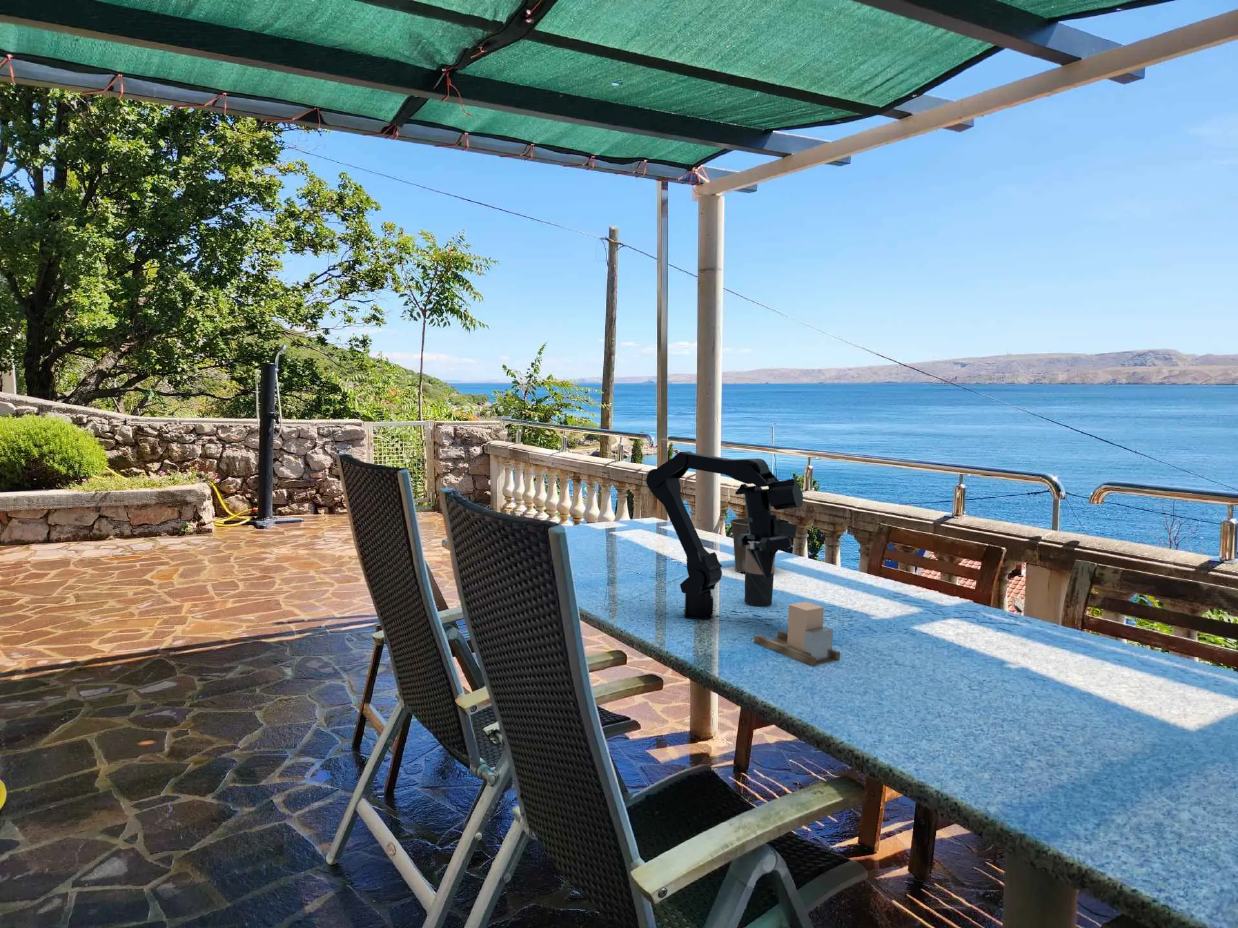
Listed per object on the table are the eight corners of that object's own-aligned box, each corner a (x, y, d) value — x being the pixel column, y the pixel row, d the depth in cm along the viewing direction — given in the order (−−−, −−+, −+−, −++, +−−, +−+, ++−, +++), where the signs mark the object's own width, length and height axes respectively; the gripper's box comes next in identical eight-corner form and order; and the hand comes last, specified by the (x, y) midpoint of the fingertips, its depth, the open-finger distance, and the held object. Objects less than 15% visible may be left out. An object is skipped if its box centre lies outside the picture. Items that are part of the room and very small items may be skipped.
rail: (753, 645, 166) (754, 635, 165) (780, 640, 170) (780, 630, 170) (811, 669, 151) (812, 658, 151) (839, 663, 155) (839, 651, 155)
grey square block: (803, 664, 154) (805, 630, 154) (824, 659, 158) (825, 626, 157) (810, 667, 153) (812, 633, 152) (831, 662, 156) (833, 629, 155)
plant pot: (719, 566, 247) (721, 517, 246) (764, 564, 252) (765, 516, 250) (742, 577, 231) (744, 525, 230) (789, 575, 236) (791, 524, 235)
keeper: (786, 651, 159) (788, 604, 158) (803, 647, 162) (805, 601, 161) (804, 658, 155) (806, 610, 154) (821, 654, 158) (823, 607, 157)
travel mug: (764, 608, 197) (767, 532, 195) (738, 603, 201) (741, 529, 200) (777, 602, 203) (780, 529, 201) (751, 597, 207) (754, 525, 206)
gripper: (808, 507, 171) (817, 576, 170) (774, 506, 189) (782, 568, 188) (762, 514, 168) (771, 583, 168) (732, 512, 186) (741, 575, 186)
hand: (767, 577), depth 178 cm, fingers closed
